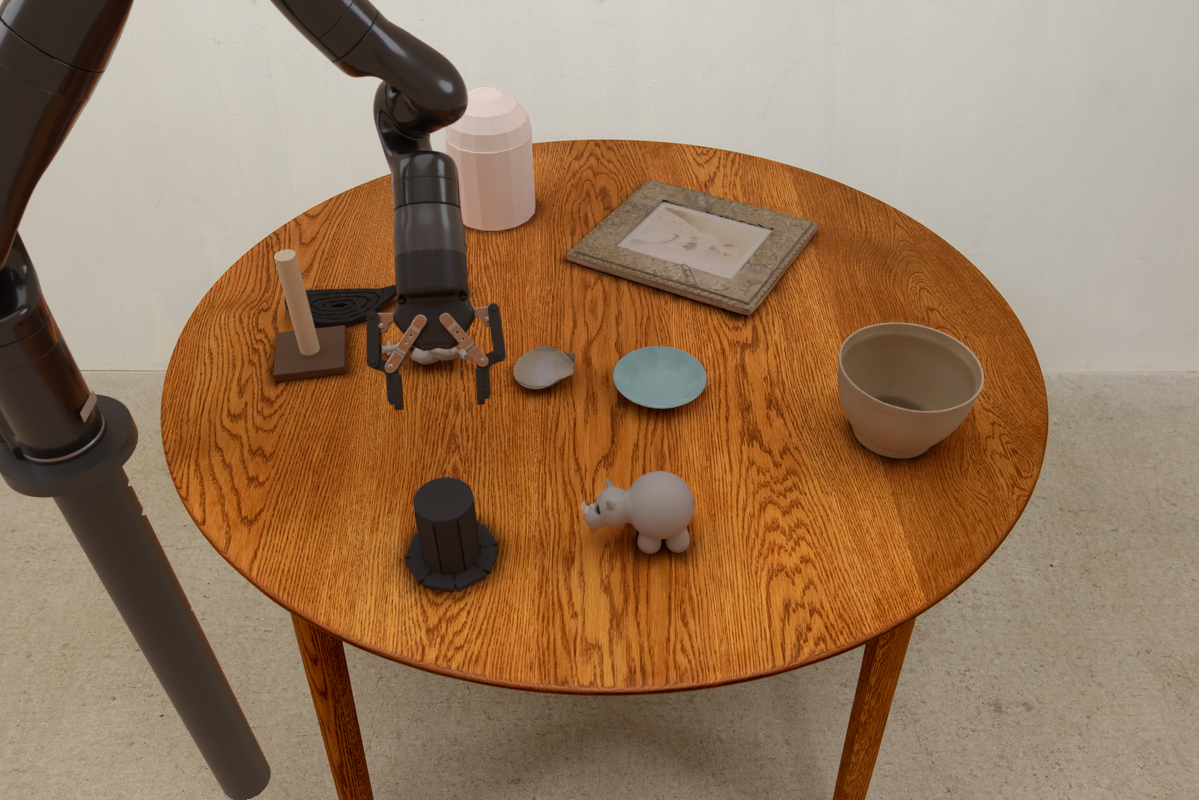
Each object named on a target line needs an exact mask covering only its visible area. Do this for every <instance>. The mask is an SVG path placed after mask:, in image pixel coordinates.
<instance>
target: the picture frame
mask: <svg viewBox="0 0 1199 800" xmlns="http://www.w3.org/2000/svg"><path fill="white" fill-rule="evenodd" d="M819 226H820V223H818V222H817V221H814V222H813V221H812V220H810V219H805V218H803V217H797V216H792V215H790V214H785V213H782V212H779V211H776V210H771V209H770V208H765V207H761V206H757V205H751V204H750V203H747V204H746V202H744V201H741V202H740V201H738V200H732V199H730V198H725V197H723V196H721V197H720V196H718V195H713V194H711V193H709V194H708V193H705V192H703V191H698V190H697V191H696V190H695V189H690V188H686V187H682V186H677V185H675V184H669V183H665V182H662V181H659V180H653V179H648V180H647V181H645V182H644V183H642V185H641V186H640V187H639V188H637V190H635V191H634V192H633V193H632V194H631V195H630V196H629V197H628V198H627V199H625V200H624V201H623V202H622V203H621V204H620V205H619V206H618V207H617V208H615V210H613V211H612V212H611V213H610V214H608V216H607V217H606V218H604V219H602V221H600V223H598V224H597V225H596V226H595V227H594V228H593V229H592V230H591V231H589V232H588V233H587V235H585V237H583V239H581V240H580V241H579V242H578V243H577V244H575V245H574V246H572V248H571V249H569V250H568V251H567V253H566V255H565V256H566V260H567V261H569V262H572V263H576V264H578V265H580V266H584V267H587V268H591V269H594V270H597V271H600V272H603V273H606V274H610V275H613V276H617V277H620V278H623V279H626V280H629V281H632V282H636V283H639V284H643V285H645V286H649V287H653V288H656V289H659V290H662V291H665V292H669V293H672V294H675V295H678V296H681V297H684V298H688V299H690V300H694V301H698V302H701V303H704V304H707V305H711V306H714V307H717V308H721V309H724V310H726V311H730V312H733V313H736V314H740V315H741V314H742V315H746V316H750V315H752V313H754V312H755V311H756V310H757V308H758V307H759V306H760V305H761V304H762V303H763V302H764V300H765V299H766V298H767V297H768V295H769V294H770V293H771V291H772V290H773V289H774V287H775V286H776V285H777V283H778V282H779V281H780V279H781V278H782V277H783V275H784V274H785V272H786V271H787V270H788V269H789V268H790V267H791V265H792V264H793V263H794V261H795V260H796V259H797V258H798V256H799V255H800V253H801V252H802V251H803V249H804V248H805V247H806V246H807V244H808V243H809V242H810V241H811V239H812V238H813V237H814V235H815V234H816V232H817V231H818V230H819Z"/></svg>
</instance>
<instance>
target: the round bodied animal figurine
mask: <svg viewBox="0 0 1199 800" xmlns="http://www.w3.org/2000/svg"><path fill="white" fill-rule="evenodd" d="M613 484H614V483H612V481H611V479H609V478H606V479H605V485H606V487H605V488H604V489H602V491H599V492H598V495H597V499H596V501H595V502H592V503H590V504H589V505H587V504H586V501H585V500H584V501H583V502H582V503H581V505H580V509H581V512H582V514H583V518H584V522H585V524H586V525H587V526H588V527H589V528H591V529H593V530H601V529H604V528H605V527H612V528H619V527H622V526H624V525H626V524H630V525H631V526H632V527H633V528H634V529H635V530H636V531H637V532H638V537H637V547H638V549H639V550H640V551H641V552H643V553H645V554H648V555H649V554H650V555H653V554H656V553H657V552H659V550H660V549H661V548H662V540H665V545H666V548H667V549H669V550H670V551H671V552H673V553H676V554H681V553H683V552H685V551H686V550H687V549H689V547H690V545H691V537H690V534H689V531H688V529H687V526H688V525H689V524H690V522H691V520H692V518H693V515H694V510H695V509H694V508H695V505H696V499H695V497H694V496H693V493H692V490H691V488H690V487H689V485H688V484H687V483H686V481H685V480H684V479H682V478H681V477H680V476H679V475H677V474H675V473H674V472H670V471H666V470H653V471H649V472H646V473H644V474H643V475H641V476H639V477H638V478H637V479H636V480H635V481H634V482H633V483H632V484H631V486H630V487H629V489H627V490H625V489H624V488H621V487H618V486H614V485H613Z"/></svg>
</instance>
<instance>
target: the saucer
mask: <svg viewBox="0 0 1199 800" xmlns="http://www.w3.org/2000/svg"><path fill="white" fill-rule="evenodd" d="M612 378H613V382H614V386H615V387H616V389H617V391H619V393H620V394H621V395H622V397H625V398H626V399H627V400H629V401H631V402H632V403H635V404H636V405H639V406H641V407H645V408H649V409H654V410H655V409H656V410H667V409H673V408H678V407H681V406H684V405H687V404H690V402H692V401H694V400H695V399H697V398H698V397H700V395H701V394H702V392H703V391H704V390H705V387H706V385H707V372H706V370H705V368H704V366H703V364H702V363H701V362H700V361H699V360H698V359H697V358H696V357H695V356H694V355H692V354H691V353H689V352H687V351H685V350H682V349H680V348H676V347H671V346H663V345H654V346H653V345H652V346H645V347H641V348H637V349H634V350H632V351H630V352H628V353H627V354H625V355H624V356H622V357H621V358H620V359H619V360H618V362H617V363H616V364H615V366H614V369H613V374H612Z"/></svg>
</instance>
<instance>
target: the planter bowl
mask: <svg viewBox="0 0 1199 800" xmlns="http://www.w3.org/2000/svg"><path fill="white" fill-rule="evenodd" d="M837 361H838V362H837V364H838V368H837V369H838V370H837V391H838V396H839V401H840V404H841V407H842V409H843V412H844V414H845V416H846V419H847V420H848V422H849V423H850V425H851V428H852V431H853V435H854V436H855V438H856V439H857V441H858V442H859V443H860V444H861V445H862V446H864V447H865V448H866V449H867V450H869V451H871V452H873V453H874V454H877V455H880V456H882V457H886V458H891V459H912V458H915V457H918V456H920V455H922V454H924V453H925V452H927V451H928V450H929V449H930V448H931V447H932V446H934V445H936V444H938V443H940V442H941V441H943V440H945V439H946V438H947V437H949V436H950V435H951V434H952V433H953V432H955V431H956V429H958V427H959V426H960V425H961V424H962V423H963V422H964V421H965V419H966V418H967V416H968V415H969V413H970V412H971V409H972V408H973V405H974V404H975V402H976V400H977V399H978V397H979V395H980V394H981V392H982V390H983V387H984V384H985V374H984V369H983V367H982V363H981V362H980V360H979V358H978V357H977V355H976V354H975V353H974V352H973V351H972V350H971V349H970V348H969V347H968V346H967V345H966V344H964V343H963V342H962V341H960V340H959V339H957V338H955V337H953V336H952V335H950V334H947V333H945V332H943V331H941V330H939V329H936V328H933V327H929V326H927V325H922V324H917V323H911V322H910V323H909V322H881V323H876V324H871V325H867V326H865V327H862V328H859V329H857V330H855V331H854V332H852V333H851V334H850V335H849V336H847V337H846V339H844V341H843V342H842V345H841V346H840V349H839V352H838V360H837Z"/></svg>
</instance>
